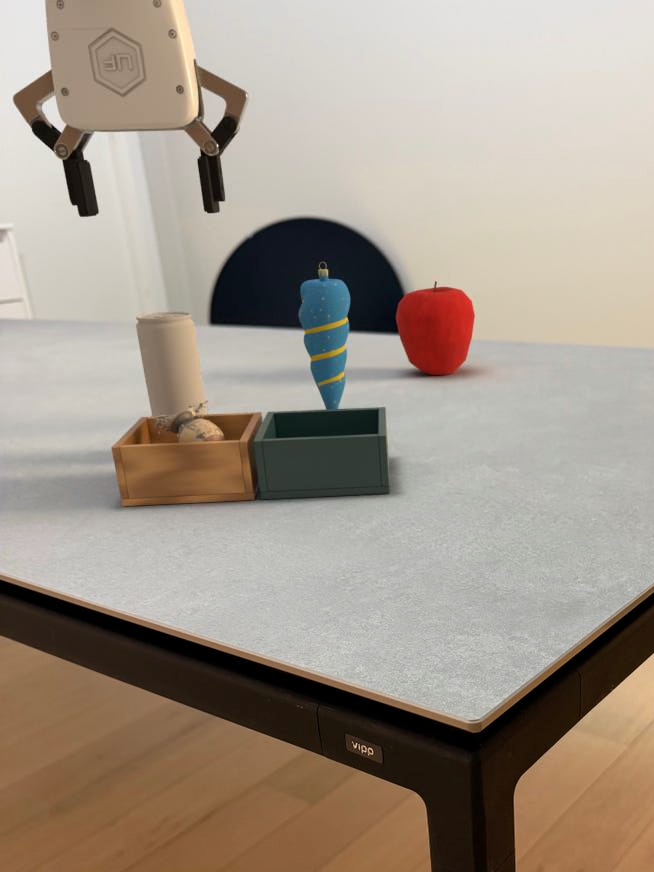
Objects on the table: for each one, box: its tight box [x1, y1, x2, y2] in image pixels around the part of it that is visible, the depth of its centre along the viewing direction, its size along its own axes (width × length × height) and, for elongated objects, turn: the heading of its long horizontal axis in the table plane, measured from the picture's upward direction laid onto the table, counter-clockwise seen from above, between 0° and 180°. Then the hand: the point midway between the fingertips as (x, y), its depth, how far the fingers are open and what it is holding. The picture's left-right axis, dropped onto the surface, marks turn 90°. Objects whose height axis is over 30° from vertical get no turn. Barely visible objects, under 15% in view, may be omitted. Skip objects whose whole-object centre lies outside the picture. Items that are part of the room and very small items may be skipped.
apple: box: [395, 280, 476, 376], centre depth 117 cm, size 10×10×11 cm
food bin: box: [110, 411, 263, 507], centre depth 77 cm, size 10×10×5 cm
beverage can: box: [135, 311, 208, 417], centre depth 84 cm, size 5×5×12 cm
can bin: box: [254, 406, 391, 500], centre depth 78 cm, size 10×10×5 cm
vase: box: [153, 400, 241, 443], centre depth 76 cm, size 5×5×6 cm
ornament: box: [298, 261, 351, 410], centre depth 95 cm, size 5×5×15 cm
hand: (151, 214), depth 76 cm, fingers open, 9 cm apart
